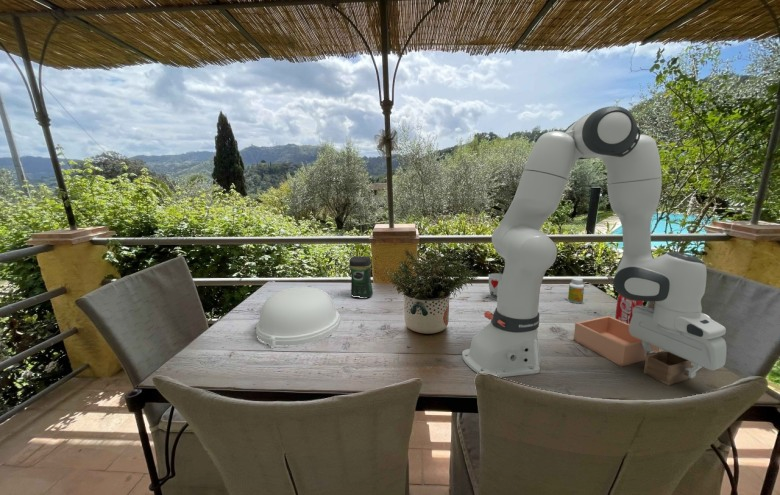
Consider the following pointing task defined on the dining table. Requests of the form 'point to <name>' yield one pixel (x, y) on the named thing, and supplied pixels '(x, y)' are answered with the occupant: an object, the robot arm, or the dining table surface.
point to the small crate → (666, 367)
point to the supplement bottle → (576, 290)
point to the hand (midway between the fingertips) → (668, 366)
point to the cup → (494, 284)
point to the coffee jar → (360, 276)
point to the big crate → (611, 340)
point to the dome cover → (297, 317)
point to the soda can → (625, 309)
